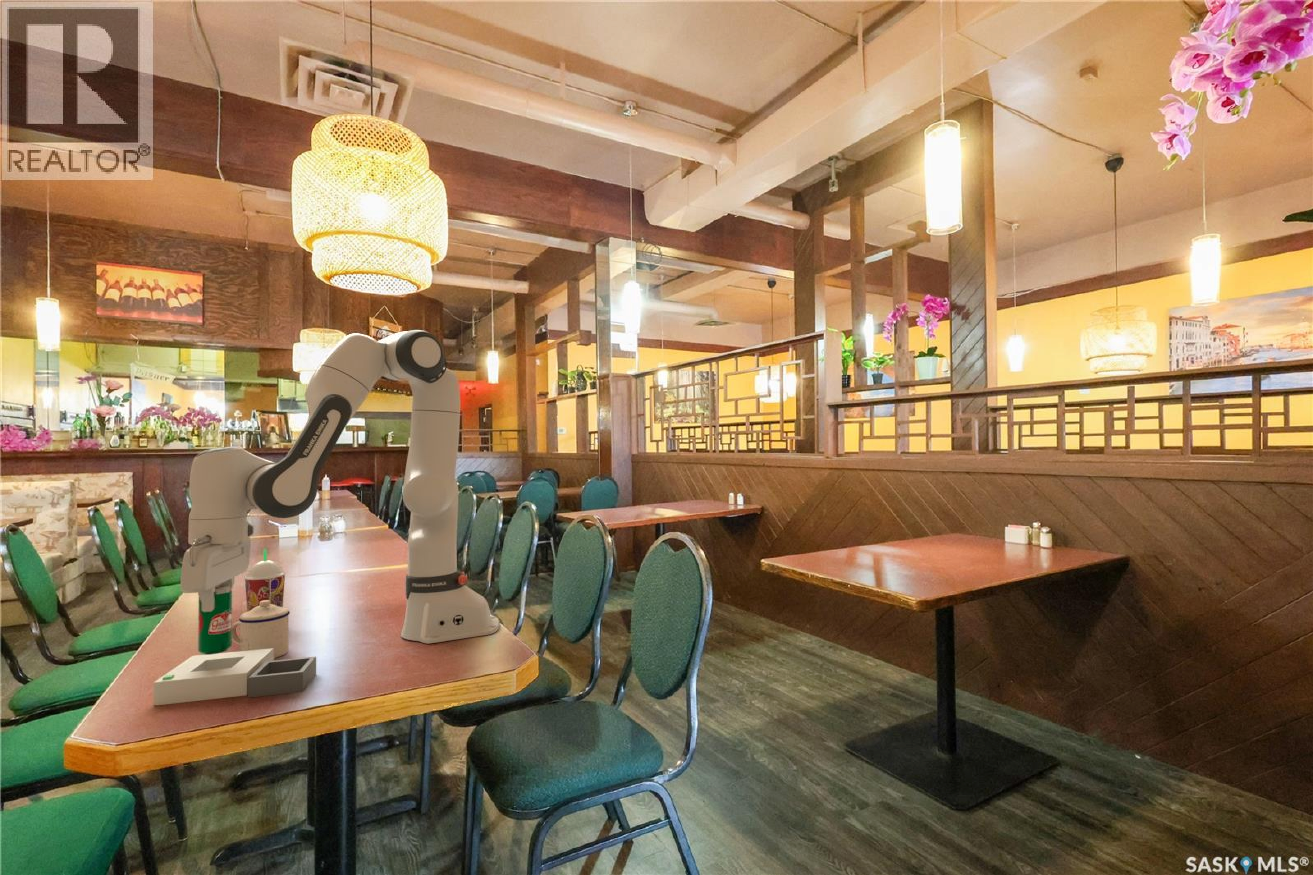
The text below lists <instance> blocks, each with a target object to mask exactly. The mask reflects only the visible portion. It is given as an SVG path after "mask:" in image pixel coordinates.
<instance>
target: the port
mask: <svg viewBox="0 0 1313 875" xmlns="http://www.w3.org/2000/svg"><path fill="white" fill-rule="evenodd" d="M266 661H275V658H274V648H270V649H260V650H249V651H241V650H238V651H230V652H221V653H217V654H211V655H204V654H197V655H191V656H190V657H189V658H187V659H186V660H184V661H183V662H181V663H180V664H179V665H177V666H176V667H174V668H172V669H171V670H169V671H168V672H167V673H165V674H164V675H163V676H161V677H159V678H158V679H157V680H155V681H154V682H153V706H154V707H155V705H156V706H163V705H171V704H172V705H173V704H182V703H190V702H198V701H199V702H200V701H207V700H216V699H217V700H218V699H224V698H225V699H226V698H234V697H244V696H249V684H248V678H249V677H250V676H251V675H252V674H253V673H254V672H255V671H256V670H257V669H258V668H259V667H261V666H262V665H263V664H264V663H265V662H266Z"/></svg>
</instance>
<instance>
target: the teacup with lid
mask: <svg viewBox="0 0 1313 875" xmlns="http://www.w3.org/2000/svg"><path fill="white" fill-rule="evenodd" d="M259 605H260V606H257V607H255V608H253V609H252V610H250V611H248V612H247V611H246V612H244V613H242V614H241V615H240V616H239V619H238V621H236V622H234V623H232V642H234V643H235V644H237V645H240V651H249V650H260V649H270V648H274V659H276V658H279V657H282V656H284V655H286V654H287V653H288V651H289V615H290V610H289V608H287V607H284V606H283V607H279V606H276V605H273V604H270V601H269V600H263V601H260V603H259ZM238 626H240V637H239V636H238V634H237V627H238Z"/></svg>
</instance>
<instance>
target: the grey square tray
mask: <svg viewBox="0 0 1313 875" xmlns="http://www.w3.org/2000/svg"><path fill="white" fill-rule="evenodd" d="M316 676H317V656H315V655H314V656H308V657H297V658H288V659H276V660H275V659H274V661H266V662H265V663H264V664H263V665H262V666H261V667H259V668H258V669H257V670H256V671H255V672H254V673H253V674H252V675H251V676H250V677H249V678H248V684H249V694H248V699H249V698H257V697H265V696H275V695H285V694H290V693H291V694H292V693H300V692H301V693H302V692H304V691H305V689H306V688H307V687H308V686H309V684H310V683H311V681H312V680H313V679H314V678H315V677H316Z"/></svg>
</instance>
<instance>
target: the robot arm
mask: <svg viewBox="0 0 1313 875" xmlns="http://www.w3.org/2000/svg"><path fill="white" fill-rule="evenodd" d="M445 354H446V353H445V351H444V347H443V344H442V342H441V341H440V340H439V338H438V337H437V336H436V335H435V334H433V333H431V332H430V331H429V332H428V331H426V330H420V329H411V330H408V331H400V332H396V333H393V334H391V335H390V336H385V337H382V338H380V339H374V338H373V337H371V336H369V335H366V334H362V333H350V334H348V335H346V336H344V337H343V339H341V340H340V341H339V342H338V343H337V344H336V345H335V346H334V347H333V348H332V349H331V350H330V352H329V353H328V354H327V355H326V356H325V358H324V359H323V360H322V361H321V362H320V364H319V365H318V367H317V369H315V371H314V373H313V375H312V377H311V378H310V380H309V383H308V385H307V387H306V390H305V392H304V398H305V402H306V404H307V406H308V418H307V421H306V423H305V425H304V427H303V429H302V430H301V432H300V433H299V434H298V437H297V438H296V440H295V441H294V443H293V444H292V446H291V448H290V450H289V451H288V452H287V454H286V455H285V456H284V458H282V459H281V460H280V461H278V462H274V461H271V460H267V459H265V458H263V457H260V456H257V455H255V454H253V453H252V452H249V451H248V450H246V449H245V448H243V447H241V446H238V445H233V446H224V447H217V448H211V449H206V450H203V451H200V452H199V453H197V455H196V456H195V457H194V458H193V460H192V463H191V468H190V473H189V476H190V477H189V489H188V490H189V491H188V492H189V498H190V501H191V508H190V512H189V515H188V532H187V533H188V537H187V540H188V544H189V545H191V546H190V547H189V548H188V549H187V550H186V551H185V552H184V554H183V558H182V564H181V573H180V589H181V592H182V593H183V594H195V593H197V596H198V599H199V598H200V600H201V602H202V611H203V612H211V611H213V610H214V609H216V604H217V600H215V598H214V592H215V586H217V585H219V584H227V585H230V589H231V590H232V591H233V588H234V585H235V577H237V576H239V575H242V574H243V573H245V572H248V568H249V565H250V561H251V560H250V559H251V549H252V548H251V545H252V543H251V542H252V540H251V537H252V536H254V533H255V527H254V525H253V524H252V523H250V522H248V520H247V519H248V517H247V516H248V511H249V510H260V511H261V512H263V513H265V514H266V515H268V516H271V517H273V518H276V519H290V518H293V517H296V516H299V515H301V514H303V513H305V512H306V511H307V510H309V508H310V507H311V506H312V505H313V503H314V502H315V500H316V497H317V494H318V487H319V479H320V475H321V472H322V469H323V467H324V465H325V463H326V462H327V460H328V458H329V457H330V455H331V453H332V452H333V450H334V448H335V445H336V444H337V442H338V441H339V438H340V437H341V435H342V433H343V432H344V430H345V427H346V426H347V425H348V424H349V422H350V420H352V418H353V416H355V414H356V413H357V411H358V410H359V408H360V407H361V406H362V404H363V403H364V402H365V400H366V399H367V398H368V396H369V394H370V393H371V391H372V390H373V389H374V385H375V384H376V383H377V382H378V381H379V380H380V379H382V380H386V381H389V382H399V381H400V382H405V381H406V382H407V383H408V384H409V387H410V389H411V392H412V394H411V395H412V402H411V403H412V406H411V418H410V433H409V434H410V435H409V448H408V454H407V459H406V464H405V465H406V466H405V472H404V478H403V479H404V480H403V489H402V501H403V503H404V505H405V507H406V509H407V510H408V511H409V512H410V520H409V529H408V531H409V532H408V537H407V574H406V575H405V579H404V580H405V582H404V583H405V585H404V586H405V588H404V590H405V591H404V592H405V593H404V594H405V598H406V606H405V616H404V621H403V625H402V630H401V632H400V637H401V638H402V639H404V640H409V641H413V642H414V641H415V642H421V643H423V644H427V645H428V644H434V643H441V642H447V641H454V640H461V639H467V638H475V637H481V636H488V635H492V634H494V633H496V632H497V631H499V629H500V627H501V626H500V619H499V618H498V617H497V616H495V615H491V610H490V606H489V602H488V601H487V600H486V598H485V597H484V596H482V595H481V594H479V593H477V592H476V591H474V590H473V589H471V588H470V587H469V586H467V585H466V583H467V581H468V576H467V575H466V573H465V572H464V571H461V570H458V566H457V564H458V563H457V561H458V560H457V559H458V558H457V557H458V555H457V553H458V552H457V547H458V546H457V544H458V543H457V542H458V541H457V539H458V538H457V537H458V536H457V535H458V534H457V533H458V519H459V518H458V516H459V515H458V514H459V513H458V512H459V485H458V482H457V480H456V478H455V477H456V476H455V475H456V468H457V458H458V450H459V444H460V443H459V441H460V424H461V423H460V420H461V391H460V384H459V378H458V376H457V374H456V373H455V372H454V371H453V370H451V369H449V368H447V367H448V362H447V360H446V356H445Z"/></svg>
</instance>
